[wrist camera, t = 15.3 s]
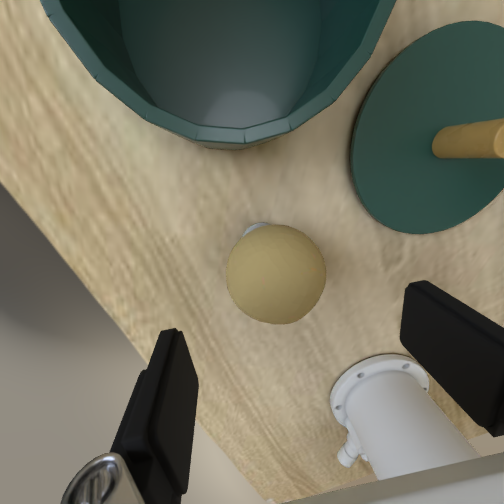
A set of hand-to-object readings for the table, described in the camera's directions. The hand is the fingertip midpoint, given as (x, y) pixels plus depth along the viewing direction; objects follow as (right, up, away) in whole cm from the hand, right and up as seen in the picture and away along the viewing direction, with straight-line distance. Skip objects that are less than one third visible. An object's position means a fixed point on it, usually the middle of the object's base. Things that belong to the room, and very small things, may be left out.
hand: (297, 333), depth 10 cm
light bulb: (-1, +4, +12) cm, 13 cm away
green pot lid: (+14, +12, +10) cm, 21 cm away
